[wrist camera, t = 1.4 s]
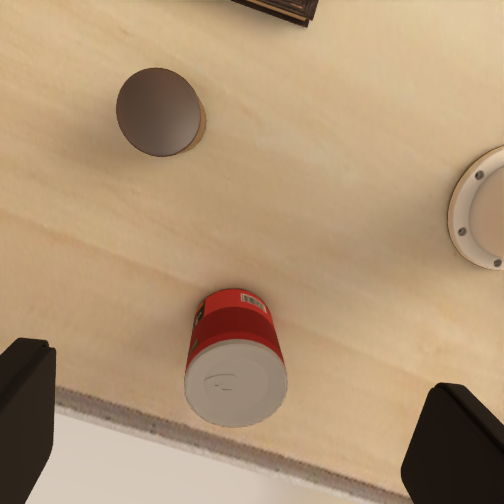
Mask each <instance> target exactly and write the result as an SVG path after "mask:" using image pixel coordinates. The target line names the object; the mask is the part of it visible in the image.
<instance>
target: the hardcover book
mask: <svg viewBox="0 0 504 504" xmlns="http://www.w3.org/2000/svg"><path fill="white" fill-rule="evenodd" d="M231 1H234V2H237V3H239V4H242V5H245V6H248V7H250V8H253V9H256V10H259V11H262V12H264V13H267V14H270V15H273V16H276V17H278V18H281V19H284V20H287V21H290V22H292V23H295V24H298V25H301V26H303V27H306V28H307V27H308V23H309V20H311V21H312V20H313V18H314V14H315V11H316V7H317V4H318V0H231Z"/></svg>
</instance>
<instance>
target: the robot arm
mask: <svg viewBox="0 0 504 504" xmlns="http://www.w3.org/2000/svg"><path fill="white" fill-rule="evenodd" d="M448 228H449V233H450V237H451V239H452V241H453V244H454V246H455V247H456V248H457V250H458V251H459V253H460V254H461V255H463V256H464V257H465V258H466V259H467V260H469V261H471V262H473V263H474V264H476V265H478V266H481V267H484V268H486V269H491V270H504V146H502V147H499V148H497V149H494V150H492V151H490V152H489V153H487V154H486V155H484V156H482V157H481V158H480V159H478V160H477V161H476V162H475V163H474V164H473V165H472V166H471V167H470V168H469V169H468V170H467V171H466V173H465V174H464V175H463V176H462V178H461V179H460V181H459V183H458V184H457V186H456V188H455V190H454V193H453V195H452V198H451V201H450V205H449V210H448ZM55 377H56V349H55V348H52V347H49V344H48V341H46V340H39V339H29V338H18V339H17V340H15V341H14V342H13V343H12V344H11V345H10V346H9V347H8V348H7V349H6V350H5V351H4V352H3V353H2V354H1V355H0V504H25V502H26V500H27V499H28V497H29V495H30V493H31V491H32V489H33V487H34V485H35V483H36V482H37V480H38V478H39V476H40V474H41V472H42V470H43V469H44V467H45V465H46V463H47V461H48V459H49V456H50V454H51V450H52V446H53V432H54V405H55ZM401 478H402V482H403V484H404V486H405V488H406V490H407V492H408V493H409V495H410V497H411V499H412V501H413V503H414V504H504V425H503V424H502V423H501V422H500V421H499V420H498V419H497V418H496V417H495V416H494V415H493V414H492V413H491V412H490V411H489V410H488V409H487V408H486V407H485V406H484V405H483V404H482V403H481V402H480V401H479V400H478V399H477V398H476V397H475V396H474V395H473V394H472V393H471V392H470V391H469V390H468V389H467V388H466V387H465V386H463V385H460V384H451V383H442V382H441V383H438V384H437V385H435V387H434V388H431V389H430V391H429V393H428V395H427V398H426V401H425V404H424V406H423V409H422V412H421V414H420V417H419V420H418V423H417V425H416V428H415V431H414V433H413V436H412V439H411V442H410V444H409V447H408V450H407V452H406V455H405V458H404V461H403V463H402V466H401Z"/></svg>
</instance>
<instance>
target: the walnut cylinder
mask: <svg viewBox="0 0 504 504" xmlns="http://www.w3.org/2000/svg"><path fill="white" fill-rule="evenodd" d="M116 114H117V120H118V123H119V126H120V129H121V131H122V132H123V134H124V136H125V137H126V139H127V140H128V141H129V142H130V143H131V144H132V145H133V146H134V147H135V148H137V149H138V150H140V151H142V152H144V153H146V154H148V155H152V156H157V157H167V156H172V155H176V154H179V153H182V152H185V151H188V150H190V149H192V148H193V147H195V146H196V145H197V144H198V143H199V141H200V140H201V138H202V137H203V135H204V132H205V128H206V114H205V110H204V107H203V105H202V103H201V102H200V100H199V98H198V96H197V95H196V93H195V91H194V90H193V88H192V87H191V85H190V84H189V83H188V82H187V81H186V80H185V79H184V78H183V77H181V76H180V75H178V74H177V73H175V72H173V71H170V70H167V69H163V68H148V69H144V70H141V71H139V72H137V73H135V74H133V75H132V76H131V77H130V78H129V79H128V80H127V81H126V82H125V83H124V85H123V86H122V88H121V90H120V92H119V95H118V98H117V104H116Z"/></svg>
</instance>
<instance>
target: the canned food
mask: <svg viewBox="0 0 504 504" xmlns="http://www.w3.org/2000/svg"><path fill="white" fill-rule="evenodd" d="M287 386H288V380H287V373H286V368H285V364H284V360H283V356H282V353H281V349H280V346H279V342H278V339H277V335H276V332H275V328H274V325H273V321H272V318H271V314H270V312H269V310H268V307H267V306H266V305H265V303H264V302H263V301H262V300H261V299H259V298H258V297H257V296H256V295H254V294H252V293H250V292H248V291H245V290H241V289H225V290H221V291H218V292H216V293H214V294H212V295H211V296H209V297H208V298H207V299H206V300H205V301H204V302H202V303H201V305H200V306H199V308H198V309H197V312H196V314H195V317H194V323H193V329H192V335H191V341H190V347H189V353H188V358H187V364H186V370H185V378H184V389H185V396H186V399H187V402H188V404H189V405H190V407H191V409H192V410H193V411H194V412H195V413H196V414H197V415H198V416H200V417H201V418H202V419H204V420H205V421H208V422H210V423H212V424H215V425H218V426H222V427H231V428H235V427H245V426H250V425H253V424H256V423H259V422H261V421H263V420H265V419H266V418H268V417H270V416H271V415H272V414H273V413H274V412H276V410H277V409H278V408H279V407H280V406H281V404H282V402H283V400H284V399H285V396H286V392H287Z"/></svg>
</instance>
